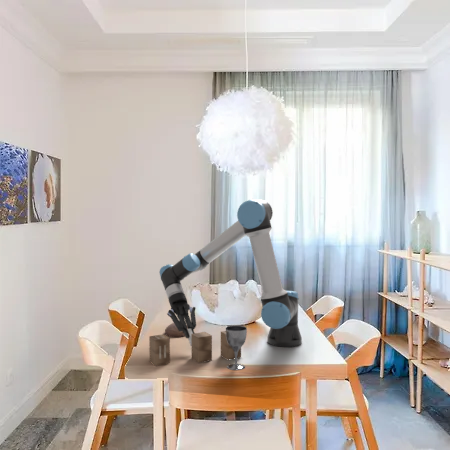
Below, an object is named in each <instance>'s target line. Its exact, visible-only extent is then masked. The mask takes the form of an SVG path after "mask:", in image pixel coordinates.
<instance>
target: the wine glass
mask: <svg viewBox="0 0 450 450" xmlns="http://www.w3.org/2000/svg"><path fill="white" fill-rule="evenodd" d="M225 331H226V339H227V342H228V344H229V345H230V347H231V348H232V349H233V351H234V354H235V359H234V363H229V364H230V365H229V364H227V365H226V368H227V370H230V371H231V370H232V371H242V370H244V369H246V365H244V364H242V363H238V358H237V355H238V351H239V349H240V348H241V349H242V347H243V346H244V345H245V343H246V340H247V332H248V331H247V326H244V325H239V324H234V325H232V324H231V325H227V326H225ZM241 364H242V365H241Z"/></svg>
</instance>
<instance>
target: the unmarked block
mask: <svg viewBox="0 0 450 450" xmlns="http://www.w3.org/2000/svg"><path fill="white" fill-rule="evenodd" d="M190 347H191V359H192V360H193V361H195V362H196V363H198V364H200V363H199V362H201V363H204V361H206V362H209V361H208V360H211V361H213V335H211V334H210V333H208V332H206V331H202V332H201V331H200V332H194V333H193V334H191V345H190Z"/></svg>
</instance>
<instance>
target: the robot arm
mask: <svg viewBox="0 0 450 450" xmlns="http://www.w3.org/2000/svg"><path fill="white" fill-rule="evenodd" d="M273 212H274V211H273V208H272V205H271V204H270V203H269V202H268V201H266V200H264V199H254V198H252V199H248V200H246V201H243V202H242V203H241V204H240V205H239V207H238V209H237V212H236V213H237V215H236V217H237V220H236V222H234V223H233V224H231V226H229V227H227V228H226V229H225V230H224V231H222V232H221V233H220V234H218V235H217V236H216V237H215V238H214V239H213V240H211V241H210V242H209V243H207V244H206V245H204V247H202V248H201V249H199V251H197V252H196V253H192V252H190V253H188V254H187V255H185V256H183V258H182V259H179V261H177V262H176V263H175V264H169V263H167V264H166V265H164V266H161V268H160V269H159V277H160V281H161V282H162V285H163V287H164V291H165V294H166V297H167V299H168V303H169V305H170V309H169V310H168V312H167V313H166V314H167V316H168V317H170V318H171V320H172V323H174V324H175V325H176V327H177V329H178V330H179V331H183V333H184V334H185V336H184V337H185V338H186V339H187V340H188V343H189V345H190V346H191V334H193V333H195V329H196V328H197V319H196V313H195V312H196V309H197V308H196V306H193V307H192V306H190V304H189V303H188V299H187V297H186V294H185V291H184V288H183V286H182V283H181V282H182V281H183V280H184V279H185V278H187V277H188V276H189V275H191V274H194V273H196V272H198V271H202V270H204V269H205V268H207V267H208V265H209V264H210V263H212V262H213V261H214V260H215V259H217V258H218V257H220V256H221V255H222V254H224V252H226V251H228V249H229V250H230V249H231V248H232V247H233V246H234V245H235V244H237V243H238V242H239V241H241V240H242V239H243V238H245V237H248V239H249V241H250V243H249V244H250V246H251V250H252V255H253V258H254V259H253V260H254V264H255V268H256V271H257V275H258V279H259V283H260V287H261V291H262V292H261V293H262V294H261V295H260V297H259V299H260V302H261V307H262V308H261V312H260V315H261V320H262V321H263V323H264V324H265V325H266V326H267V327H269V331H268V334H267V343H268V344H269V345H272V346H275V347H282V348H283V347H284V348H290V347H291V348H292V346H293V347H297V345H298V346H300V345H302V342H303V341H302V333H301V331H300V328H299V299H300V298H299V294H298V292H297V291H295V290H294V291H293V290H286V289H284V288H283V284H282V280H281V276H280V271H279V267H278V263H277V259H276V256H275V251H274V247H273V244H272V239H271V234H270V232H271V230H272V229H273V227H272V224H271V220H272V217H273ZM189 313H190V314H189ZM189 315H190V316H189ZM187 327H188V330H187Z"/></svg>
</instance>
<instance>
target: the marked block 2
mask: <svg viewBox="0 0 450 450" xmlns="http://www.w3.org/2000/svg"><path fill="white" fill-rule="evenodd" d="M222 356H223V357H224V359H225V358H226V359H225V360H227V359H228V360H227V361H230V360H229V359H232V360H235V359H234V358H235V354H234V351H233V349H232V348H231V347H230V345H229V344H228V342H227V339H226V330H223V331H220V357H222ZM223 357H222V358H223ZM238 357H241V358H242V347H241V348H240V349H239V351H238V355H237V359H239V358H238Z"/></svg>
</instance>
